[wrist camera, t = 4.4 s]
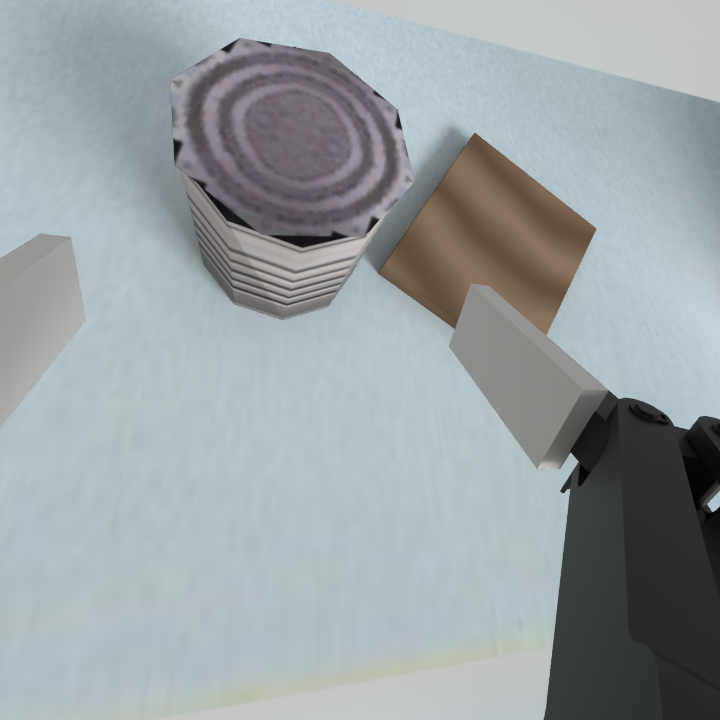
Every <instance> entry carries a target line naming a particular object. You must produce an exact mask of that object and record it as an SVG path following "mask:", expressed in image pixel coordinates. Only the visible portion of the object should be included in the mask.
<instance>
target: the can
mask: <svg viewBox="0 0 720 720" xmlns="http://www.w3.org/2000/svg"><path fill="white" fill-rule="evenodd" d="M170 86H171V104H172V123H173V142H174V161H175V166H176V167H178V168H179V169H180V170H181V171H182V175H183V179H184V183H185V188H186V192H187V196H188V200H189V204H190V209H191V213H192V217H193V221H194V225H195V230H196V234H197V238H198V242H199V247H200V251H201V255H202V259H203V263H204V266H205V267H206V268H207V270H208V271H209V272H210V274H211V275H212V276H213V277H214V279H215V280H216V281H217V282H218V284H219V285H220V286H221V288H222V289H223V290H224V291H225V293H226V294H227V295H228V297H229V298H230V299H231V300H232V302H233V303H234V304H235V305H238V306H242V307H245V308H248V309H251V310H254V311H257V312H260V313H263V314H266V315H269V316H273V317H276V318H279V319H282V320H284V319H288V318H291V317H295V316H298V315H301V314H305V313H308V312H312V311H315V310H319V309H322V308H326V307H328V306H329V304H330V303H331V302H332V300H333V299H334V297H335V296H336V295H337V293H338V292H339V290H340V289H341V288H342V286H343V285H344V283H345V282H346V281H347V279H348V278H349V277H350V275H351V274H352V272H353V271H354V269H355V267H356V265H357V264H358V262H359V260H360V259H361V257H362V255H363V254H364V252H365V250H366V248H367V247H368V245H369V243H370V242H371V240H372V238H373V237H374V235H375V233H376V231H377V230H378V228H379V226H380V225H381V223H382V221H383V220H384V218H385V216H386V214H387V213H388V211H389V209H390V208H391V207H392V206H393V205H394V204H395V203H396V201H397V200H398V199H399V198H400V197H401V196H402V195H403V194H404V193H405V192H406V190H407V189H408V188H409V187H410V186H411V185H412V184H413V183H414V179H413V174H412V170H411V166H410V161H409V157H408V153H407V148H406V144H405V140H404V135H403V131H402V127H401V123H400V118H399V114H398V110H397V109H396V108H395V107H394V106H393V105H391V104H390V103H389V102H388V101H387V100H385V99H384V98H383V97H382V96H381V95H379V94H378V93H377V92H376V91H375V90H373V89H372V88H371V87H370V86H369V85H367V84H366V83H365V82H364V81H363V80H361V79H360V78H359V77H358V76H357V75H355V74H354V73H353V72H352V71H350V70H349V69H348V68H347V67H346V66H344V65H343V64H342V63H341V62H340V61H338V60H337V59H336V58H335V57H334V56H332V55H331V54H330V53H325V52H319V51H313V50H307V49H301V48H296V47H289V46H283V45H277V44H271V43H265V42H259V41H253V40H248V39H242V38H239V39H237V40H236V41H234V42H232V43H231V44H229V45H227V46H226V47H224V48H222V49H221V50H219V51H217V52H216V53H214V54H212V55H211V56H209V57H207V58H206V59H204V60H202V61H201V62H199V63H197V64H196V65H194V66H192V67H191V68H189V69H188V70H186V71H184V72H183V73H181V74H179V75H178V76H176V77H174V78H173V79H171V80H170Z"/></svg>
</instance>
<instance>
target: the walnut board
mask: <svg viewBox="0 0 720 720" xmlns="http://www.w3.org/2000/svg"><path fill="white" fill-rule="evenodd" d="M595 231H596V228H595V227H594V226H592V225H591V224H590V223H589V222H587V221H586V220H585V219H584V218H582V217H581V216H580V215H579V214H577V213H576V212H575V211H573V210H572V209H571V208H570V207H568V206H567V205H566V204H565V203H563V202H562V201H561V200H560V199H558V198H557V197H556V196H554V195H553V194H552V193H551V192H549V191H548V190H547V189H546V188H544V187H543V186H542V185H541V184H539V183H538V182H537V181H535V180H534V179H533V178H532V177H530V176H529V175H528V174H527V173H525V172H524V171H523V170H522V169H520V168H519V167H518V166H516V165H515V164H514V163H513V162H511V161H510V160H509V159H508V158H506V157H505V156H504V155H503V154H501V153H500V152H499V151H497V150H496V149H495V148H494V147H492V146H491V145H490V144H489V143H487V142H486V141H485V140H483V139H482V138H481V137H480V136H478V135H477V134H476V133H474V134H473V136H472V137H471V139H470V140H469V141H468V143H467V144H466V146H465V147H464V149H463V150H462V151H461V153H460V154H459V156H458V157H457V159H456V160H455V162H454V163H453V165H452V166H451V167H450V169H449V170H448V172H447V173H446V175H445V176H444V178H443V179H442V181H441V182H440V184H439V185H438V186H437V188H436V189H435V191H434V192H433V194H432V195H431V197H430V198H429V200H428V201H427V203H426V204H425V205H424V207H423V208H422V210H421V211H420V213H419V214H418V216H417V217H416V219H415V220H414V221H413V223H412V224H411V226H410V227H409V229H408V230H407V232H406V233H405V235H404V236H403V238H402V239H401V240H400V242H399V243H398V245H397V246H396V248H395V249H394V251H393V252H392V254H391V255H390V257H389V258H388V259H387V261H386V262H385V264H384V265H383V267H382V268H381V270H380V271H379V274H380V275H381V276H383V277H384V278H386V279H387V280H388V281H390V282H391V283H392V284H394V285H395V286H397V287H398V288H399V289H401V290H402V291H404V292H405V293H406V294H408V295H409V296H410V297H412V298H413V299H415V300H416V301H417V302H419V303H420V304H421V305H423V306H424V307H426V308H427V309H428V310H430V311H431V312H433V313H434V314H435V315H437V316H438V317H439V318H441V319H442V320H444V321H445V322H446V323H448V324H449V325H451V326H452V327H453V328H456V325H457V322H458V319H459V316H460V313H461V311H462V308H463V305H464V302H465V299H466V296H467V293H468V290H469V287H470V284H478V285H487V286H490V287H491V288H492V289H493V290H494V291H495V292H496V293H498V294H499V295H500V296H501V297H502V298H503V299H505V300H506V301H507V302H508V303H509V304H510V305H511V306H513V307H514V308H515V309H516V310H517V311H518V312H519V313H521V314H522V315H523V316H524V317H525V318H526V319H528V320H529V321H530V322H531V323H532V324H533V325H534V326H536V327H537V328H538V329H539V330H540V331H541V332H542V333H544V334H545V335H547V333H548V331H549V328H550V326H551V324H552V322H553V320H554V318H555V316H556V314H557V311H558V309H559V307H560V305H561V303H562V301H563V299H564V297H565V294H566V292H567V290H568V288H569V286H570V284H571V282H572V280H573V278H574V275H575V273H576V271H577V269H578V267H579V265H580V263H581V261H582V258H583V256H584V254H585V252H586V250H587V248H588V246H589V244H590V241H591V239H592V237H593V235H594V233H595Z"/></svg>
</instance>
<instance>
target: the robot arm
mask: <svg viewBox="0 0 720 720" xmlns="http://www.w3.org/2000/svg"><path fill="white" fill-rule="evenodd" d="M85 321H86V318H85V312H84V307H83V301H82V296H81V290H80V285H79V279H78V274H77V268H76V263H75V257H74V252H73V246H72V241H71V237H64V236H56V235H47V234H39V235H38V236H36V237H34V238H33V239H31V240H30V241H28V242H26V243H25V244H23V245H21V246H20V247H18V248H17V249H15V250H13V251H12V252H10V253H9V254H7V255H5V256H4V257H2V258H0V428H1V427H2V425H3V424H4V423H5V422H6V420H7V419H8V418H9V417H10V415H11V414H12V413H13V412H14V410H15V409H16V408H17V407H18V405H19V404H20V403H21V402H22V400H23V399H24V398H25V397H26V395H27V394H28V393H29V392H30V390H31V389H32V388H33V387H34V385H35V384H36V383H37V382H38V380H39V379H40V378H41V377H42V375H43V374H44V373H45V372H46V370H47V369H48V368H49V367H50V365H51V364H52V363H53V362H54V360H55V359H56V358H57V357H58V355H59V354H60V353H61V351H62V350H63V349H64V348H65V346H66V345H67V344H68V343H69V341H70V340H71V339H72V338H73V336H74V335H75V334H76V333H77V331H78V330H79V329H80V328H81V326H82V325H83V324H84V323H85ZM449 347H450V348H451V350H452V351H453V353H454V354H455V355H456V357H457V358H458V359H459V361H460V362H461V364H462V365H463V366H464V368H465V369H466V371H467V372H468V373H469V375H470V376H471V378H472V379H473V380H474V382H475V383H476V385H477V386H478V387H479V389H480V390H481V392H482V393H483V394H484V396H485V397H486V399H487V400H488V401H489V403H490V404H491V406H492V407H493V408H494V410H495V411H496V412H497V414H498V415H499V417H500V418H501V419H502V421H503V422H504V424H505V425H506V426H507V428H508V429H509V431H510V432H511V433H512V435H513V436H514V438H515V439H516V440H517V442H518V443H519V445H520V446H521V447H522V449H523V450H524V452H525V453H526V454H527V456H528V457H529V458H530V460H531V461H532V463H533V464H534V465H535V467H536V468H537V469H560V468H561V467H562V465H563V464H564V462H565V460H566V459H567V457H568V455H569V454H570V452H571V453H572V454H573V455H574V457H575V458H576V459H577V460H578V461H579V462H578V464H577V465H576V467H575V468H574V470H573V472H572V473H571V475H570V476H569V478H568V479H567V481H566V482H565V484H564V485H563V487H562V489H561V491H560V492H562V493H565V491H566V490H567V489H570V497H569V506H568V515H567V524H566V533H565V542H564V551H563V560H562V569H561V578H560V587H559V596H558V605H557V614H556V623H555V632H554V641H553V650H552V659H551V668H550V678H549V686H548V695H547V704H546V711H545V716H544V720H720V507H719V508H718V509H717V510H716V511H714V512H712V511H711V510H710V508H709V507H708V505H707V504H708V503H709V502H710V500H711V499H712V498H713V497H714V496H715V495H716V494H717V493H718V492H719V491H720V420H719V419H717V418H713V417H708V416H702V417H699V418H698V420H697V421H696V422H695V423H694V425H693V426H692V427H691V428H690V430H687V429H683V428H679V427H675V426H674V425H673V423H672V421H671V420H670V419H669V418H668V416H667V415H665V414H664V413H663V412H661V411H660V410H658V409H656V408H655V407H653V406H651V405H650V404H647V403H645V402H642V401H639V400H636V399H631V398H622V399H618V398H617V397H616V396H615V395H613V394H612V393H611V392H610V391H609V390H608V389H607V388H606V387H604V386H603V385H602V384H601V383H600V382H599V381H598V380H596V379H595V378H594V377H593V376H592V375H591V374H590V373H588V372H587V371H586V370H585V369H584V368H583V367H582V366H580V365H579V364H578V363H577V362H576V361H575V360H573V359H572V358H571V357H570V356H569V355H568V354H567V353H565V352H564V351H563V350H562V349H561V348H560V347H559V346H557V345H556V344H555V343H554V342H553V341H552V340H550V339H549V338H548V337H547V336H546V335H545V334H544V333H542V332H541V331H540V330H539V329H538V328H537V327H536V326H534V325H533V324H532V323H531V322H530V321H529V320H528V319H526V318H525V317H524V316H523V315H522V314H521V313H519V312H518V311H517V310H516V309H515V308H514V307H513V306H511V305H510V304H509V303H508V302H507V301H506V300H505V299H503V298H502V297H501V296H500V295H499V294H498V293H496V292H495V291H494V290H493V289H492V288H491V287H490V286H487V285H478V284H470V287H469V290H468V293H467V296H466V299H465V302H464V305H463V308H462V311H461V313H460V316H459V319H458V322H457V325H456V328H455V331H454V334H453V337H452V339H451V342H450V345H449Z"/></svg>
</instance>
